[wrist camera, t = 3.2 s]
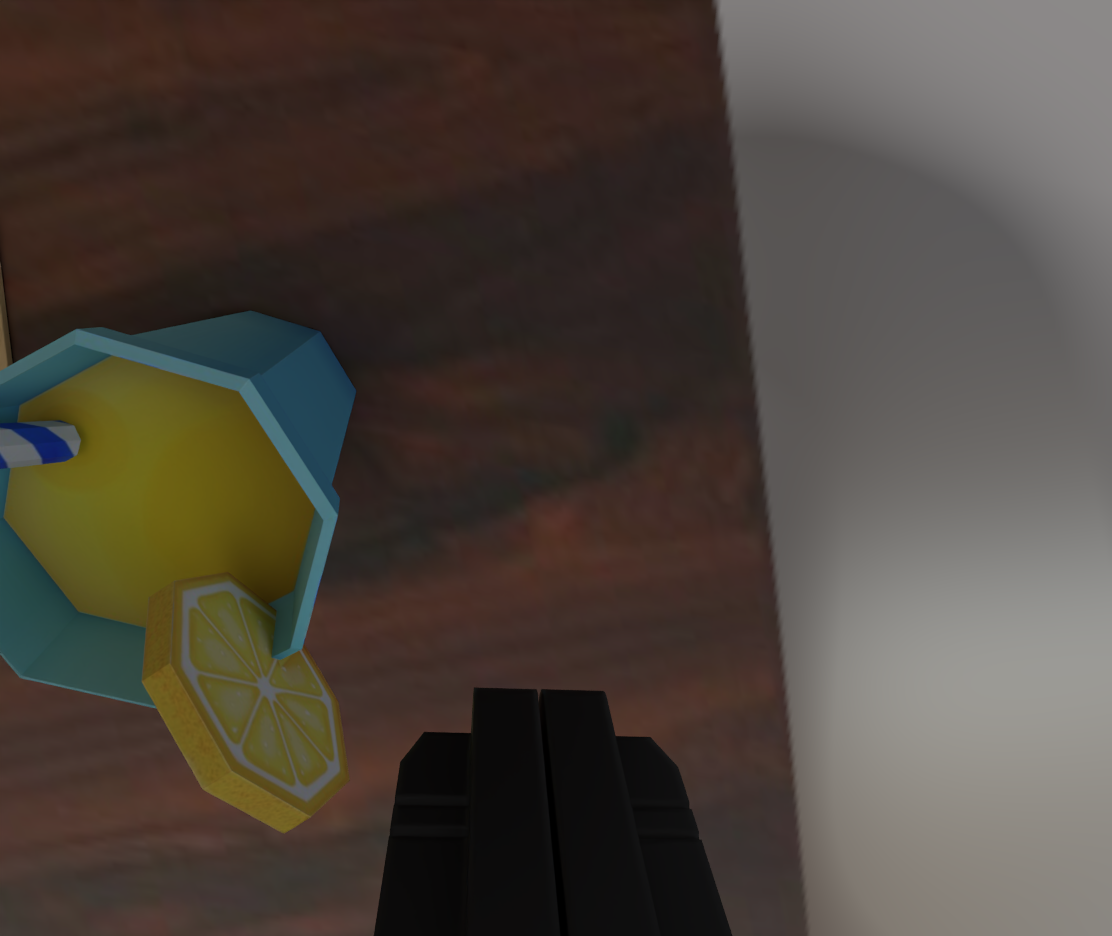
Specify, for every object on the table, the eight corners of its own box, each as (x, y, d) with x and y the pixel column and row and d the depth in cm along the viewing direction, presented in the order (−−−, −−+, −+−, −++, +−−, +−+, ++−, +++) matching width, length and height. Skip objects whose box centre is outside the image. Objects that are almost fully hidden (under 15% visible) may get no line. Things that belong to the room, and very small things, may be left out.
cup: (-43, 329, 25) (-753, 533, 11) (104, 108, 23) (-498, 5, 9) (355, 603, 28) (217, 1026, 14) (506, 427, 27) (519, 706, 13)
